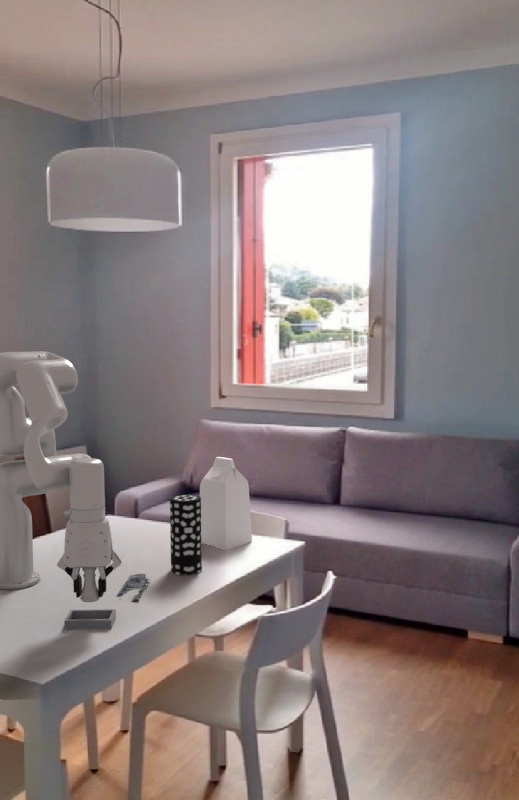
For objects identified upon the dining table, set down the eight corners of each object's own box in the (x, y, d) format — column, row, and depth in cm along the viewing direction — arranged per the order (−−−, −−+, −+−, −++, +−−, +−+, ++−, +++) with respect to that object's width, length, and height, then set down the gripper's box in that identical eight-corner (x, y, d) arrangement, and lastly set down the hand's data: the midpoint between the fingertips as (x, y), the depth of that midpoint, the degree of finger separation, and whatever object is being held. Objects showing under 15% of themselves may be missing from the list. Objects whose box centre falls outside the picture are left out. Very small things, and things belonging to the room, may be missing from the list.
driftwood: (131, 576, 216) (131, 569, 216) (156, 577, 215) (156, 569, 215) (111, 605, 195) (111, 596, 195) (138, 605, 195) (138, 596, 195)
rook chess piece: (80, 597, 182) (78, 562, 181) (100, 595, 183) (99, 560, 182) (80, 603, 178) (79, 568, 177) (100, 601, 179) (99, 566, 178)
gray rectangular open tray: (64, 629, 177) (64, 620, 177) (70, 618, 184) (70, 609, 184) (111, 628, 178) (111, 620, 178) (115, 617, 184) (115, 609, 184)
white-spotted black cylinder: (182, 564, 225) (181, 493, 223) (207, 568, 221) (206, 496, 219) (164, 572, 218) (163, 499, 216) (190, 577, 214) (189, 502, 212)
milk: (252, 541, 248) (251, 457, 245) (226, 549, 239) (225, 462, 237) (223, 534, 256) (222, 453, 253) (197, 542, 247) (196, 458, 244)
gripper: (45, 519, 175) (48, 601, 176) (123, 518, 175) (125, 600, 177) (53, 511, 182) (56, 590, 184) (128, 510, 183) (130, 589, 184)
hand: (90, 594), depth 180 cm, fingers closed on rook chess piece, 4 cm apart
